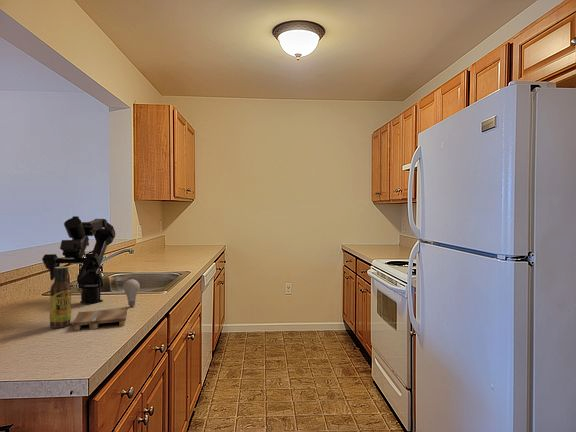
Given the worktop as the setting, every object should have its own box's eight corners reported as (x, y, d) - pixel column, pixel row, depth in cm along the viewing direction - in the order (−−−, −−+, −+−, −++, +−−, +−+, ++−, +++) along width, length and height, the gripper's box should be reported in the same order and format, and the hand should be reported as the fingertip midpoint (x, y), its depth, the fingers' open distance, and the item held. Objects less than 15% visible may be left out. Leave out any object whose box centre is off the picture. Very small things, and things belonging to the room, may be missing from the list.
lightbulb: (126, 309, 154) (126, 281, 154) (121, 306, 159) (121, 279, 159) (142, 306, 158) (141, 279, 158) (136, 303, 163) (136, 277, 163)
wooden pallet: (72, 330, 128) (72, 322, 128) (78, 319, 141) (78, 312, 141) (125, 325, 134) (125, 318, 134) (127, 314, 147) (127, 307, 147)
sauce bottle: (56, 330, 129) (55, 269, 128) (45, 327, 132) (44, 267, 131) (75, 324, 134) (74, 266, 134) (64, 322, 138) (63, 265, 137)
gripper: (44, 232, 145) (28, 265, 134) (98, 231, 148) (87, 264, 136) (54, 252, 153) (39, 285, 141) (105, 251, 155) (94, 283, 144)
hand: (65, 279), depth 141 cm, fingers open, 9 cm apart
